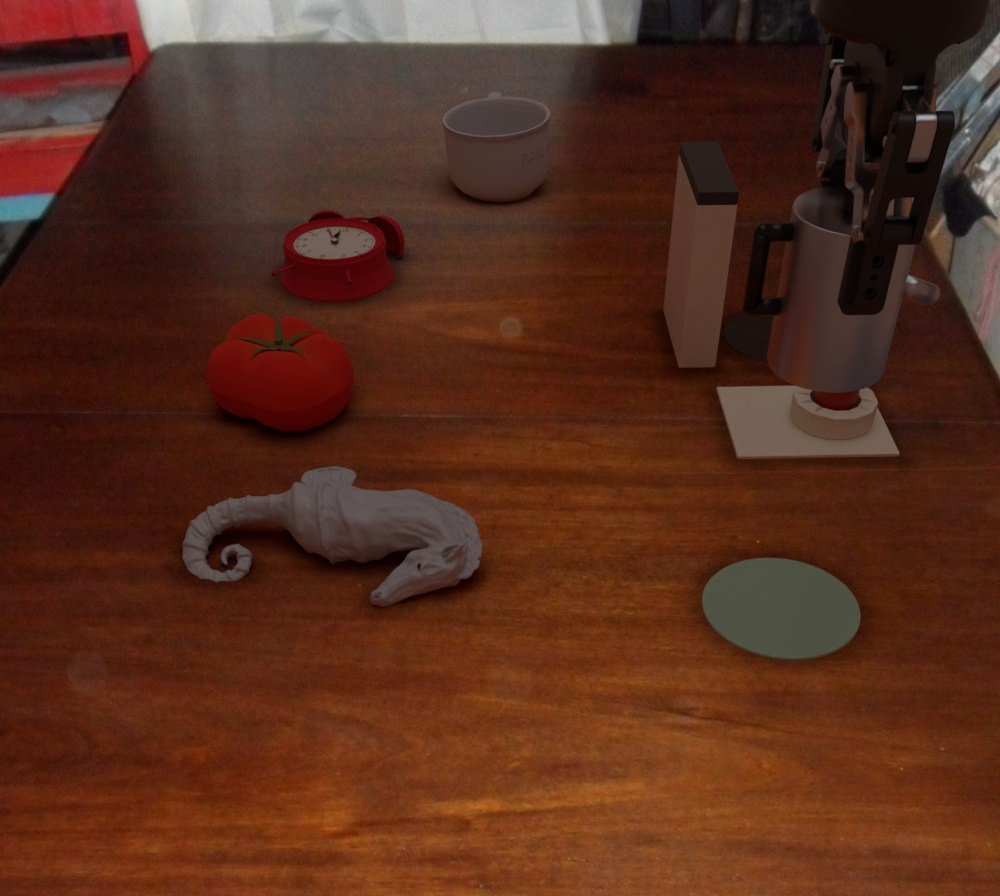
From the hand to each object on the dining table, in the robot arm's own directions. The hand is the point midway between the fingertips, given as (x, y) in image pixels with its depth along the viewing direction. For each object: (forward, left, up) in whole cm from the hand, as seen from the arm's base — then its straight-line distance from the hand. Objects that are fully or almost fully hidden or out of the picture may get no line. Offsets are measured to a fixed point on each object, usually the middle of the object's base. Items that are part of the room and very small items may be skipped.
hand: (843, 279), depth 63 cm
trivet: (0, +2, -21) cm, 21 cm away
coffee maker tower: (+1, -33, -21) cm, 39 cm away
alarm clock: (+31, -48, -21) cm, 61 cm away
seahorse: (+29, -4, -21) cm, 37 cm away
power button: (-8, -19, -19) cm, 28 cm away
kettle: (0, 0, -5) cm, 5 cm away
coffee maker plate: (-7, -33, -21) cm, 40 cm away
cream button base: (-6, -19, -21) cm, 29 cm away
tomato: (+34, -24, -21) cm, 47 cm away
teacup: (+16, -68, -21) cm, 73 cm away
